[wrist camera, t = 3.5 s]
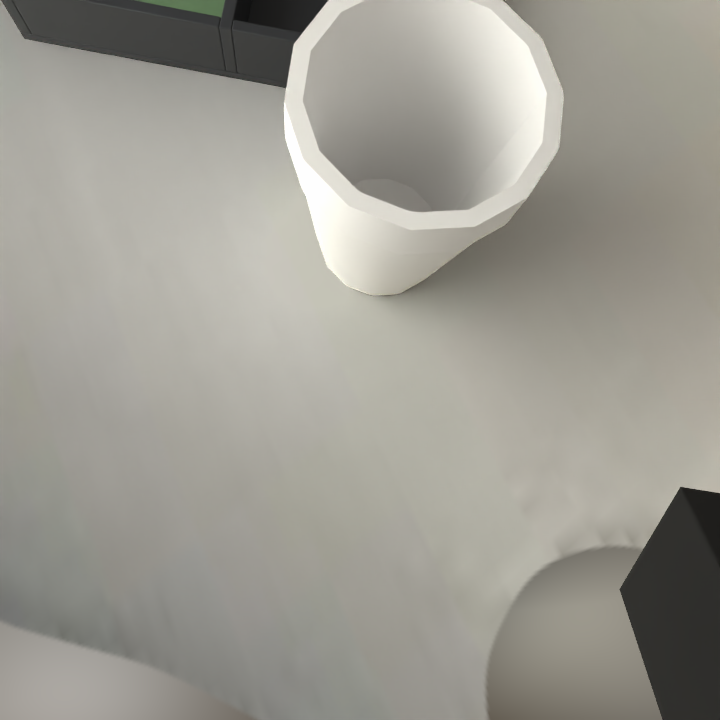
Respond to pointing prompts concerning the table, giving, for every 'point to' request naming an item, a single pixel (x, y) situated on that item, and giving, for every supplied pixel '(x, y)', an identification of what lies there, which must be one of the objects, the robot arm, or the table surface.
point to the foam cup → (416, 131)
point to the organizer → (177, 31)
